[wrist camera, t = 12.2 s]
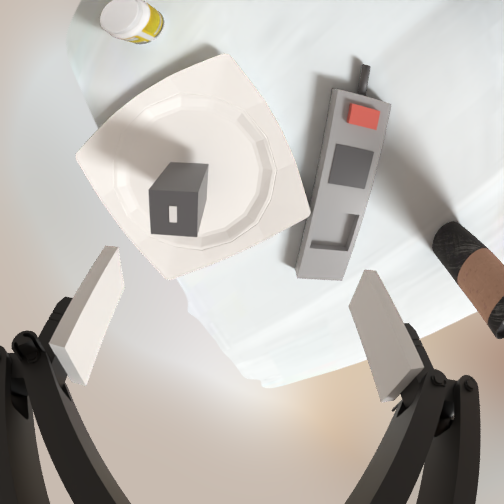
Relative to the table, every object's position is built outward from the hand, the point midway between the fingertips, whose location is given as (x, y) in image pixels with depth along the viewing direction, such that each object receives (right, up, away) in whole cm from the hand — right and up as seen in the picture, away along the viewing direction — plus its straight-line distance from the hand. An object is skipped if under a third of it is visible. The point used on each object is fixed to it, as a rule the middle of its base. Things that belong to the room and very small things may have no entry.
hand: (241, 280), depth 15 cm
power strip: (+12, +11, +20) cm, 26 cm away
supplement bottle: (-12, +27, +9) cm, 31 cm away
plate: (-7, +11, +20) cm, 24 cm away
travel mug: (+34, +4, +27) cm, 43 cm away
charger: (-7, +10, +18) cm, 22 cm away
